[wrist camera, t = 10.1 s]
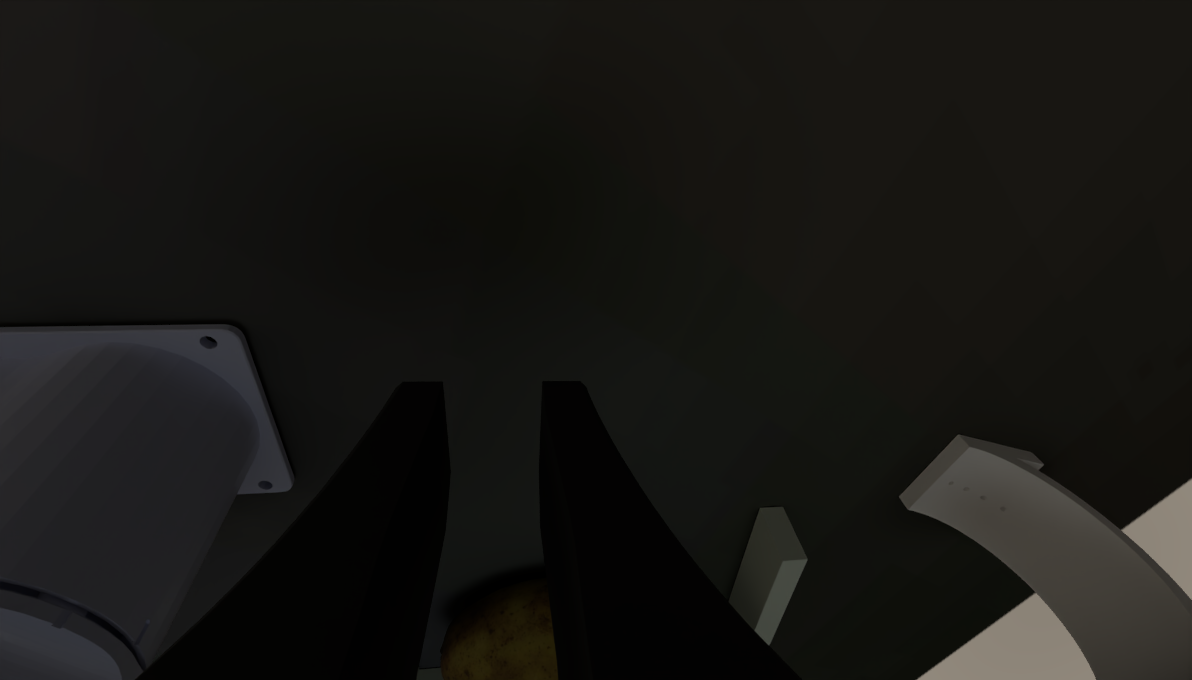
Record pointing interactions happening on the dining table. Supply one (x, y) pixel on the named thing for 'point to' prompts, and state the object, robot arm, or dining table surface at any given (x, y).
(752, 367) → the dining table surface
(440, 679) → the grey u-shaped bar
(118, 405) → the robot arm
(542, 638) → the potato
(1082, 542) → the headphone stand
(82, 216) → the dining table surface
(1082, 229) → the dining table surface
